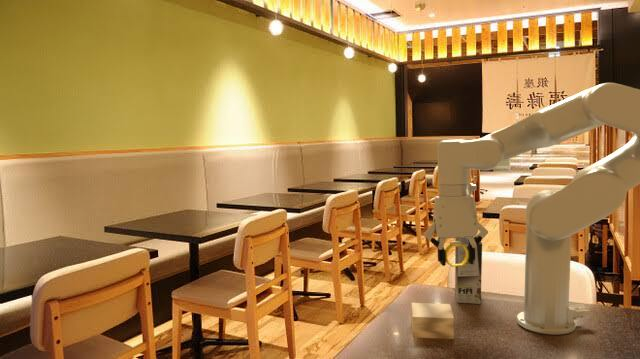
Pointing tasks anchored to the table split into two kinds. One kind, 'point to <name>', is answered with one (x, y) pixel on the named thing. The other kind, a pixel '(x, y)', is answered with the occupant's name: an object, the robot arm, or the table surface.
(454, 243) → the watch
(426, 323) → the wood block
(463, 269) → the coffee box
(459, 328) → the table surface
